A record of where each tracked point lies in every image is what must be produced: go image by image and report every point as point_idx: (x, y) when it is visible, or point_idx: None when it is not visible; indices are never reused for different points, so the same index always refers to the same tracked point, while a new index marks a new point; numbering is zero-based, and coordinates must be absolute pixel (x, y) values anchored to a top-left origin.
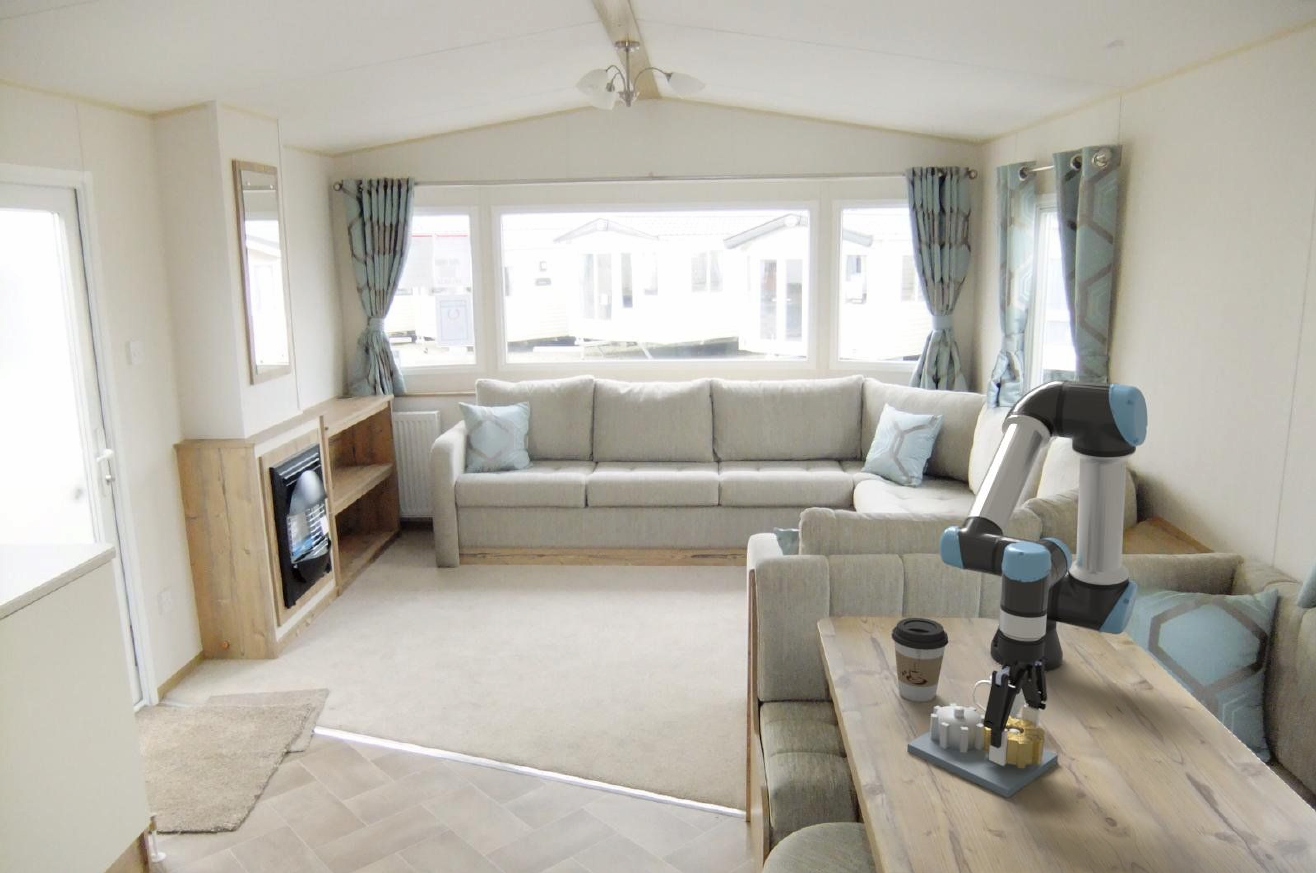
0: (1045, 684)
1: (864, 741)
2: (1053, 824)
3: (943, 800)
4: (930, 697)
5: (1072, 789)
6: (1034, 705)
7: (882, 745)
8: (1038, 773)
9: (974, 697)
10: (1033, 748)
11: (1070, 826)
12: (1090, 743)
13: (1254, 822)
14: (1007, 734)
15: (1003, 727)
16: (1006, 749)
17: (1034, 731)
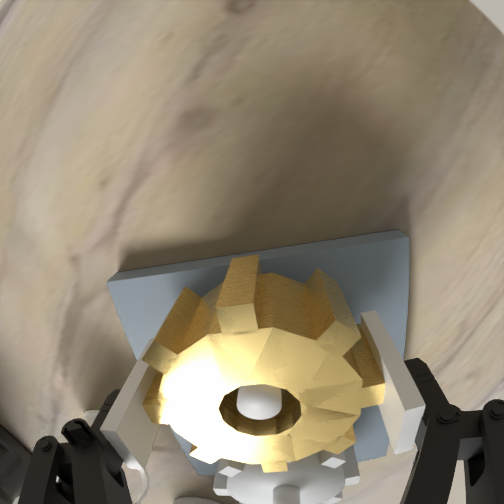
0: (23, 498)
1: (401, 471)
2: (399, 76)
3: (495, 301)
4: (196, 501)
5: (192, 152)
6: (106, 452)
7: (393, 460)
8: (219, 259)
9: (143, 483)
10: (262, 303)
11: (366, 43)
12: (10, 277)
13: None
14: (397, 392)
15: (452, 418)
16: (377, 346)
17: (195, 366)
